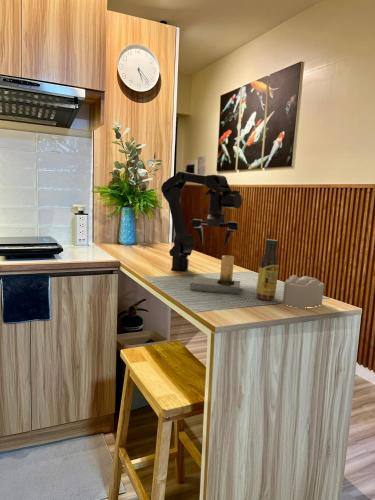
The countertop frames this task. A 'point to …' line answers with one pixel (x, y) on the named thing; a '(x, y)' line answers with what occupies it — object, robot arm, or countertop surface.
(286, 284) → the lumpy-topped squat cylinder
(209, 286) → the plate
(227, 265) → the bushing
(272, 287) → the sauce bottle
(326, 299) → the countertop surface
